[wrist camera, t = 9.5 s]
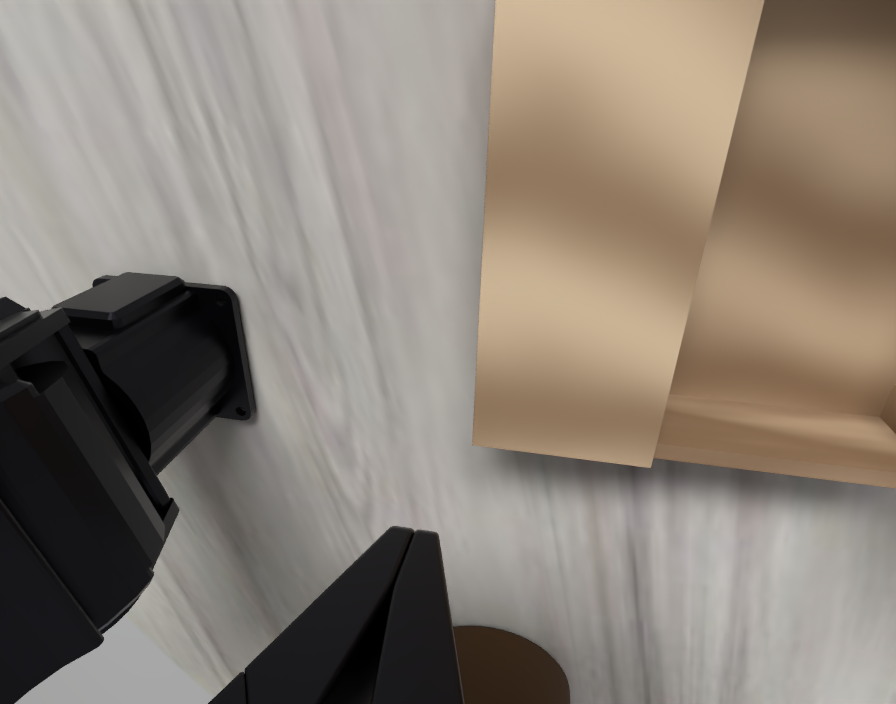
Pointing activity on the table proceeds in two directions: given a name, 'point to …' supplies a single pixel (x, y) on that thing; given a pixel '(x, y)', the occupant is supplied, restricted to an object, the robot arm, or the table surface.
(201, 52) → the table surface
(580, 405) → the flap
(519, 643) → the olive oil
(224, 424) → the table surface
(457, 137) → the table surface
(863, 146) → the wooden box
